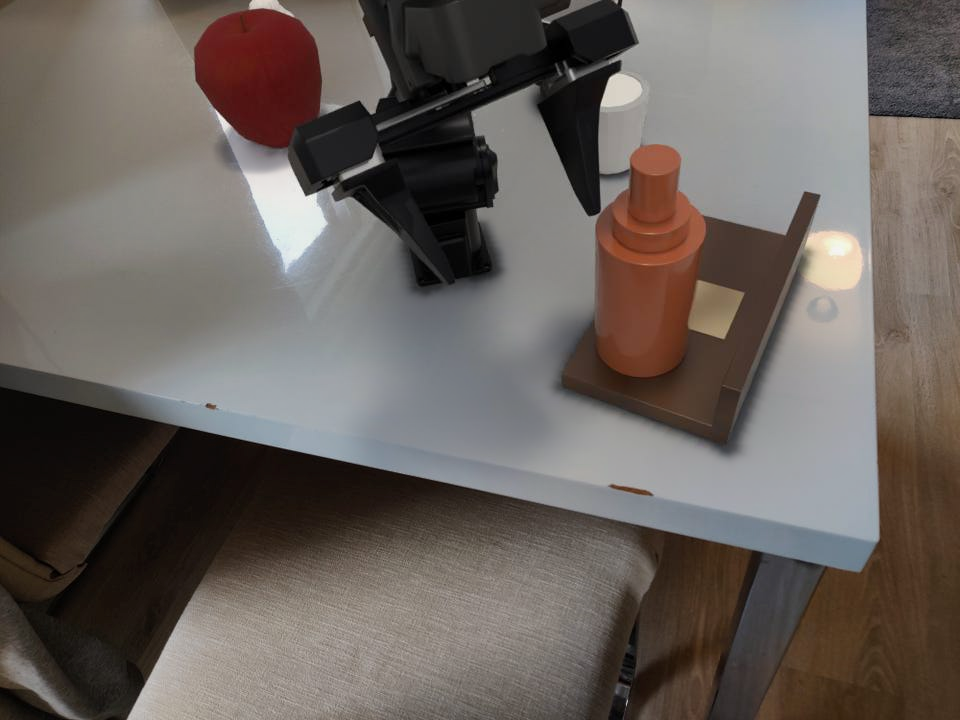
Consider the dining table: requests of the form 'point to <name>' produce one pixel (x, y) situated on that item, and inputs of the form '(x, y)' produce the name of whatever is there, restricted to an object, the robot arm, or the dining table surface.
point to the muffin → (268, 6)
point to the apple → (260, 74)
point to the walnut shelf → (711, 331)
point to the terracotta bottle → (647, 268)
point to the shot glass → (621, 120)
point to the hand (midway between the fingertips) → (524, 248)
